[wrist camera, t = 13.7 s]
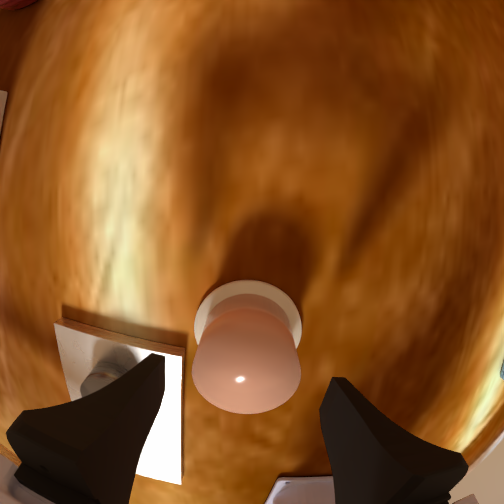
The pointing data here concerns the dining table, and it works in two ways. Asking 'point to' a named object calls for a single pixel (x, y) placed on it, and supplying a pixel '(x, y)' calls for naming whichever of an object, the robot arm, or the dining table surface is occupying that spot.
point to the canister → (15, 4)
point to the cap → (246, 356)
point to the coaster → (248, 288)
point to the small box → (2, 105)
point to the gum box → (502, 372)
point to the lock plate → (130, 355)
